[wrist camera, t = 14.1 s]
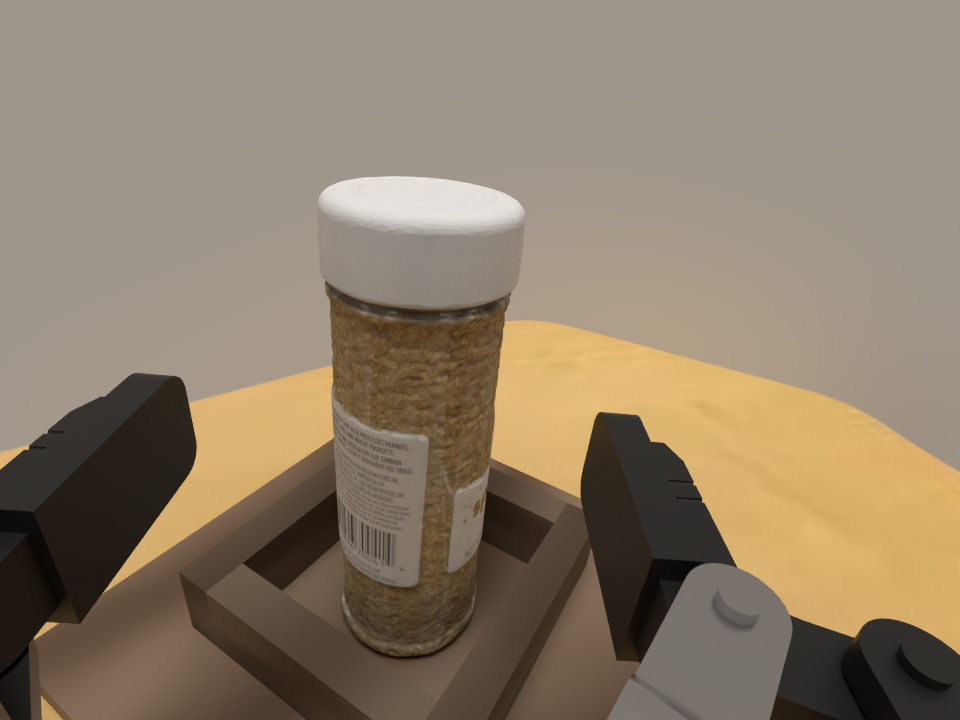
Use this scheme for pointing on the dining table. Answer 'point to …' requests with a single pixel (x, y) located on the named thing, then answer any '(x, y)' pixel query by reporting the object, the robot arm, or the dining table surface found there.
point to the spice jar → (414, 393)
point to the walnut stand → (341, 622)
